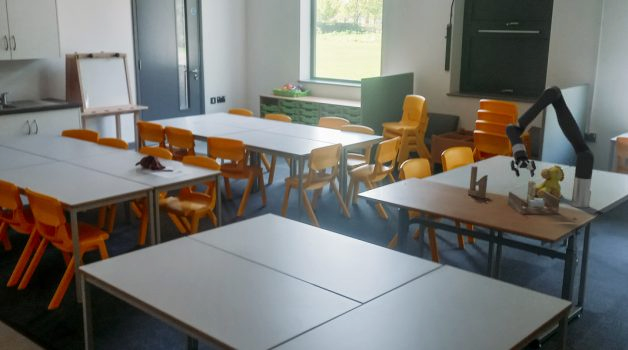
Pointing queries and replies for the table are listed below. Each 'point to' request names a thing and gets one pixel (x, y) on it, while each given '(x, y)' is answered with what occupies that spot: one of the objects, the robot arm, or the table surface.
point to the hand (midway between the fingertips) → (525, 176)
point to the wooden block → (481, 183)
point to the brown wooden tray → (522, 207)
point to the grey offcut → (536, 203)
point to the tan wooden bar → (531, 190)
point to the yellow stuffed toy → (550, 182)
